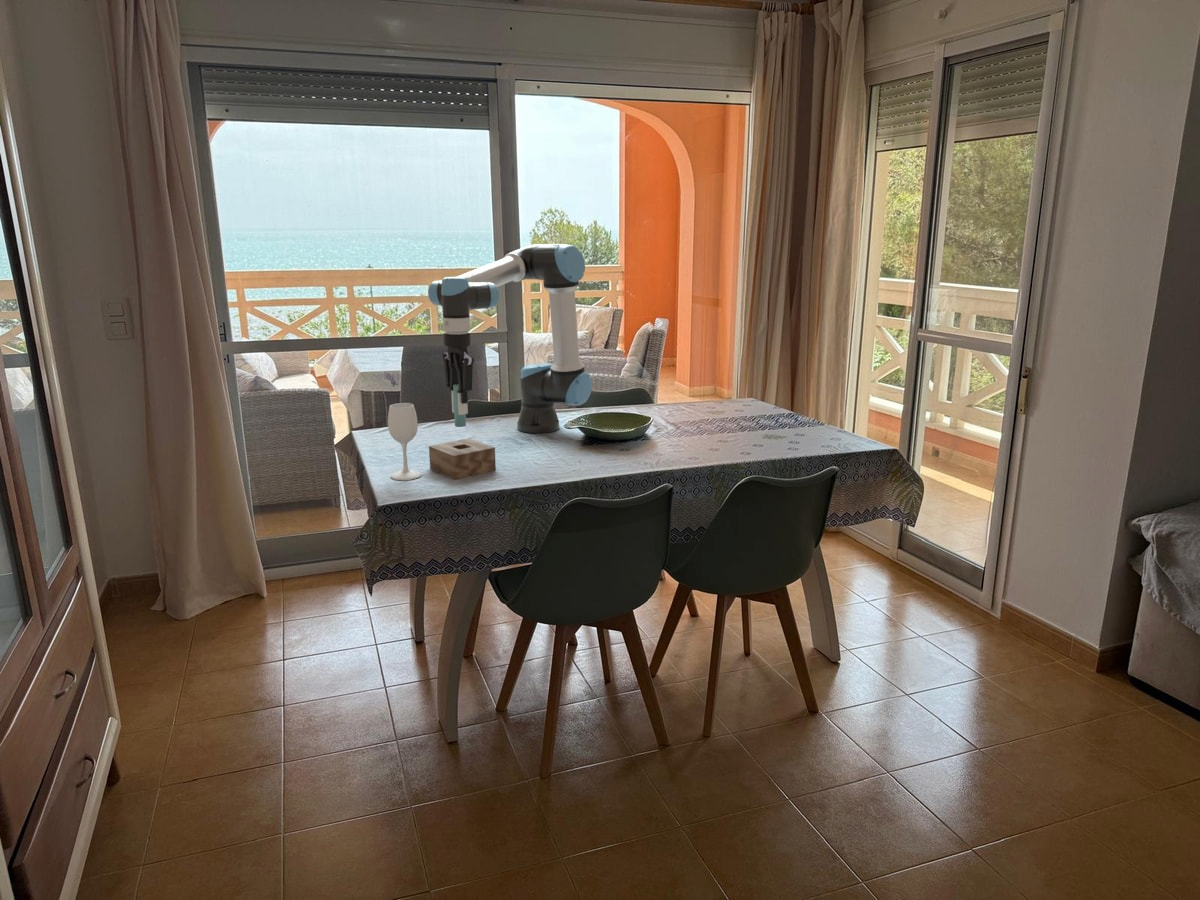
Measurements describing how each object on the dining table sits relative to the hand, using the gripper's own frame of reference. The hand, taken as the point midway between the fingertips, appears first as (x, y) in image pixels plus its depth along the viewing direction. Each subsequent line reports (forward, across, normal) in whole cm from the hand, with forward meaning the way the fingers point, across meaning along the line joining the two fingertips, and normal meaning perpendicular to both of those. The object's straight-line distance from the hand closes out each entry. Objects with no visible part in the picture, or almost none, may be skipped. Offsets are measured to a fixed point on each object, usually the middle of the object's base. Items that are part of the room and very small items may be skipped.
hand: (460, 412), depth 234 cm
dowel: (+4, 0, 0) cm, 4 cm away
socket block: (+17, 0, 0) cm, 17 cm away
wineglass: (+18, -5, -16) cm, 24 cm away
